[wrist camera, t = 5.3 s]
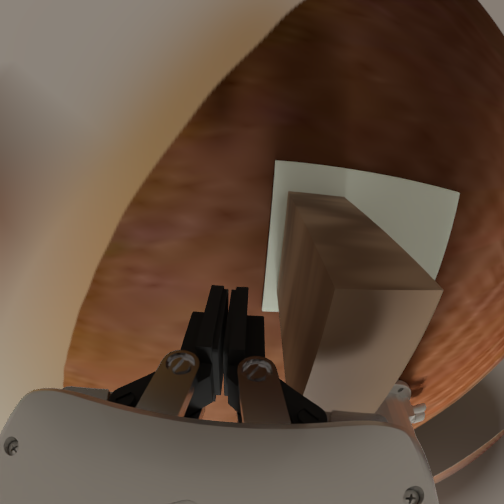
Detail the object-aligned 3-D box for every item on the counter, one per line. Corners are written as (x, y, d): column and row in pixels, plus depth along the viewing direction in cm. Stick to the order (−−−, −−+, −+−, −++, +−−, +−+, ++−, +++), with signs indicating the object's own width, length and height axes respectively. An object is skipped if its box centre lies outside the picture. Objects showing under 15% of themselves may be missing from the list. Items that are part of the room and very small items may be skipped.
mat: (456, 191, 18) (459, 193, 17) (420, 308, 23) (422, 311, 22) (275, 159, 17) (275, 160, 17) (261, 307, 23) (262, 311, 22)
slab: (345, 197, 18) (446, 290, 7) (327, 293, 21) (370, 422, 10) (288, 191, 18) (335, 288, 7) (276, 291, 21) (289, 429, 10)
